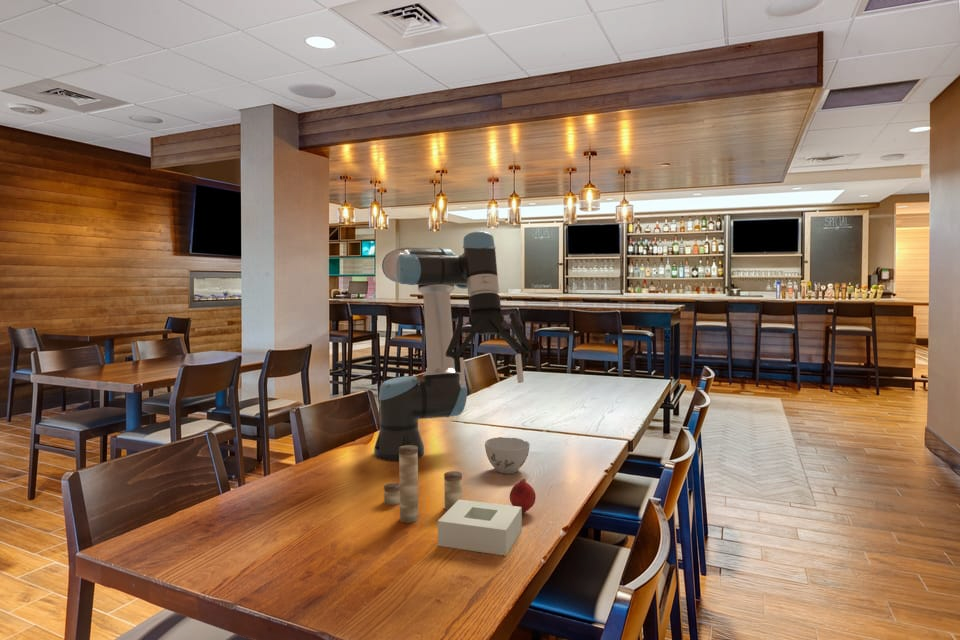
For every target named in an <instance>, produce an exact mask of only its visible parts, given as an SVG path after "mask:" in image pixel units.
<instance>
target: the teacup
mask: <svg viewBox="0 0 960 640" xmlns="http://www.w3.org/2000/svg"><path fill="white" fill-rule="evenodd" d="M484 448H485V453H486V457H487V459H488V461H489V463H490V464H491V466H492V467H493V468H494V469H495V470H496V472H498V473H500V474H505V475H508V474H509V475H512V474H515V472H516V473H517V471H518V470H519V469H521V468H522V467H523V466H524V464H525V463H526V460H527V459H528V457H529V451H530V442H529V441H527V440H526V441H525V440H524V439H522V438H519V437H502V436H499V437H492V438H488V439H486V440H485V442H484ZM511 473H512V474H511Z"/></svg>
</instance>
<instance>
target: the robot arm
mask: <svg viewBox="0 0 960 640" xmlns="http://www.w3.org/2000/svg"><path fill="white" fill-rule="evenodd" d="M462 241H463V242H462V243H463V244H462V248H463V253H462V254H461V255H460V254H459V255H458V254H455V252H454V251H453V250H452V249H450V248H442V247H402V248H397V249H394V250H391V251H389V252H388V253H387V254H386V255H384V257H383V260H382V262H381V268H382V272H383V275H385V277H386V278H387V279H389V280H390V281H392V282H393V283H394V282H395V283H399V284H401V285H407V286H408V285H409V286H414V285H417V288H418V289H417V290H418V292H419V293H420V294H422V296H423V312H424V314H423V315H424V332H425V351H426V352H425V353H426V366H427V367H426V370H425V372H424V373H423V375H422V380H419V379H418V377H417V376H414V375H411V376H410V375H409V376H405V375H404V376H400V377H393V378H390V379H386V380H384V381H383V382H381V384H380V386H379V395H378V401H379V432H378V436H377V438H376V441H375V445H374V449H373V450H374V451H373V454H374V457H375V458H377V459H379V460H383V461H389V462H399V447H401V446H405V445H414V446H417V447H418V458H420V457H422V456H423V455H424V454H425V445H424V442H423V439H422V436H421V432H420V430H419V420H423V419H424V420H425V419H435V418H436V419H439V418H450V417H457V416H460V415H461V414H462V413H463V412H464V410H465V407H466V404H467V398H468V397H467V396H468V387H467V382H466V374H465V361H464V357H461V355H462V353H463V352H464V351H465V349H466V348H467V346H468V345H469V344H470V343H471V341H472V340H473V338H475V335H476V334H478V335H480V336H483V335H494V334H497V335H498V336H499V337H501V339H503V340H504V342H505V343H507V345H508V346H510V347H511V348H512V349H513V351H514V352H516V353H517V354H515V356H514V358H515V367H516V379H517V384H521V383H524V382H525V381H524V371H523V369H525V368H526V366H527V361H526V360H527V359H526V353H528V352H530V351H532V349H533V346H532V345H531V343H530V341H529V340H528V338H527V336H526V335H525V333H524V331H523V330H522V328H521V326H520V325H519V323H518V322H517V317H516V314H515V312H511V313H510V314H506V315H503V312H502V306H501V305H502V304H501V296H500V295H499V293H500V288H499V287H500V286H499V277H498V276H499V275H498V266H497V255H496V254H497V253H496V248H497V247H496V245H495V239H494V236H493V234H492V233H490V232H488V231H484V230H483V231H478V230H477V231H472V232H469V233H467V234H466V235H465V236H464V237H463V240H462ZM455 287H457V288H459V289H464V290H465V289H466V290H467V296H468V310H469V316H463V315H461V314H460V315H458V316H457V319H456V327H455V330H454V332H453V322H452V307H451V306H452V304H451V302H452V301H451V293H452V292H453V291H454V290H455ZM504 321H505V322H506V324H508V325H509V327H510V329H511V330H512V331H513V332H512V333H514V335H515V337H516V339H517V340H516V339H515V338H514V337H513V336H512V335H511V334H510V333H509V332H508V331H507V330H506V328H505V327H504V326H503V325H502V324H503V322H504ZM467 323H468V324H469V325H470V327H472V330H471V331H470V332H469V334H468V335H467V336H466V337H465V339H464V341H463V342H462V343H461V344H460V345H459V347H458V349H457V350H456V351H454V349H455V346H456V344H457V341H458V339H459V337H460V334H461V331H462V330H463V327H465V326H466V325H467ZM518 341H519V342H518Z"/></svg>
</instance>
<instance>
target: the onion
mask: <svg viewBox="0 0 960 640" xmlns="http://www.w3.org/2000/svg"><path fill="white" fill-rule="evenodd" d="M536 496H537V495H536V492H535V489H534V487H532V486H531V485H530V484H529V483H528V482H527V479H526V478H525V477H522V478H521V479H519V482H517V483H516V484H514V485H513V487H512V488H511V490H510V492H509V501H510V503H511V506H518V507H522V514H525V513H526V512H527V511H529V510H530V509H531V508H532V507H533V506H534V505H535V503H536Z"/></svg>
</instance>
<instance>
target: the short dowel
mask: <svg viewBox="0 0 960 640" xmlns="http://www.w3.org/2000/svg"><path fill="white" fill-rule="evenodd" d="M383 490H384V491H383V500H384V501H383V502H384V504H385V505H386V504H387V506H397V504H398V505H400V482H399V483H398V482H390V483H389V482H388V483H385V484H384V485H383Z"/></svg>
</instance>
